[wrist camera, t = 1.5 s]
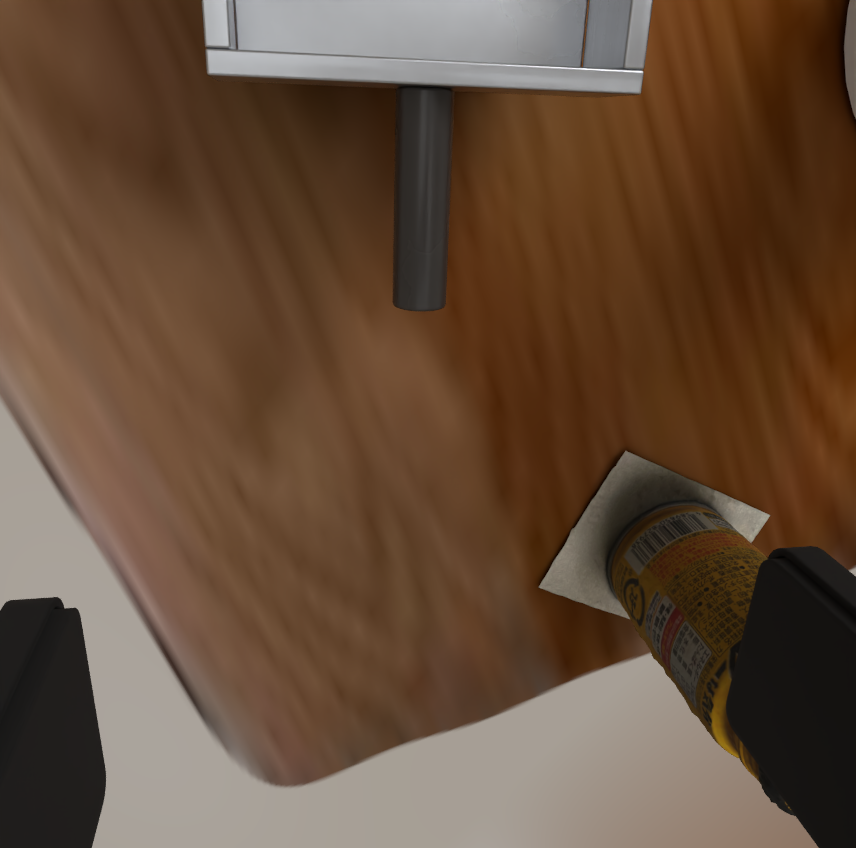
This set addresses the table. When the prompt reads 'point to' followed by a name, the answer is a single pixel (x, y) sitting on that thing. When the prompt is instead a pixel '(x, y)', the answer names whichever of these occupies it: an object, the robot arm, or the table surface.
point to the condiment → (671, 581)
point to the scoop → (430, 81)
